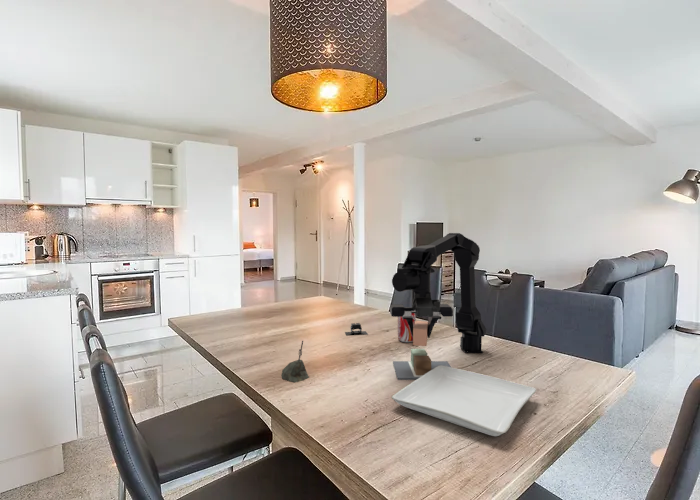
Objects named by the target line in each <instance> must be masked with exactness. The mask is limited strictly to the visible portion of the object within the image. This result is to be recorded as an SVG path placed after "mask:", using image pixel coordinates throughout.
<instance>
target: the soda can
mask: <svg viewBox="0 0 700 500" xmlns="http://www.w3.org/2000/svg"><path fill="white" fill-rule="evenodd" d="M411 316H412V317H413V328H414V324H415V321H417V320H416V318H417V317H416V316H417V315H416V313H411ZM397 338H398V340H399V341H400V342H401V343H406V344H407V343H413V338H412V335H411V332H410V329H409V325H408V323H407V321H406V319H403V318H402V317H397Z"/></svg>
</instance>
